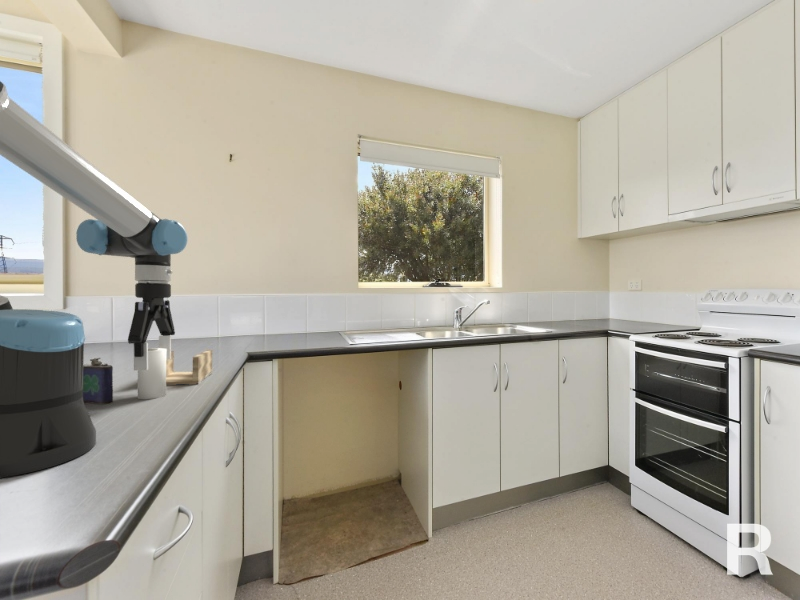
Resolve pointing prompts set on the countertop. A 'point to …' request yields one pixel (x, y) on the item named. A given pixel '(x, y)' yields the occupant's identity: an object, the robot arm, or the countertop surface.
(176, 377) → the holder
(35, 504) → the countertop surface
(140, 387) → the roll
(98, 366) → the flask
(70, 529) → the countertop surface
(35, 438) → the robot arm
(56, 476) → the countertop surface
